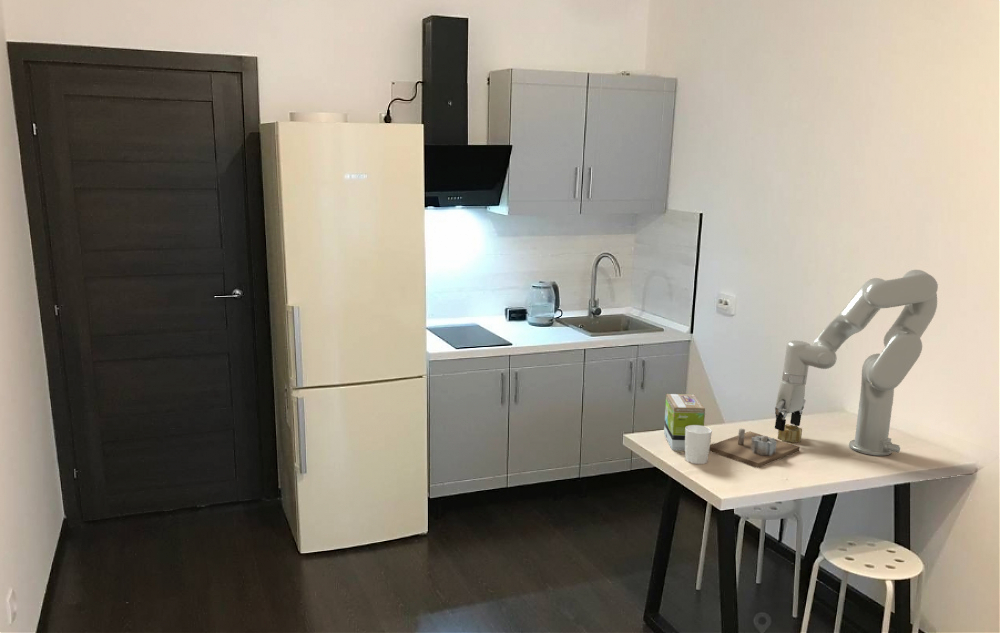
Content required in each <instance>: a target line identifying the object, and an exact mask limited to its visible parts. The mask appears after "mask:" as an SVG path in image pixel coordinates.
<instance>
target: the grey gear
mask: <svg viewBox="0 0 1000 633" xmlns="http://www.w3.org/2000/svg"><path fill="white" fill-rule="evenodd" d="M766 436H767V441H761V436H758V435H757V436H756V437H752V440H751V450H752V452H753V453H757V454H760V455H762V456H763V455H768V456H772V455H773V454H776V445H777V441H775V439H776V438H774V437H769V436H768V435H766Z"/></svg>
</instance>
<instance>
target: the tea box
mask: <svg viewBox="0 0 1000 633" xmlns="http://www.w3.org/2000/svg"><path fill="white" fill-rule="evenodd" d="M705 415H706V408H705V406H704V405H703V404H702V402H701V401H700V399H699V398H698V397H697V395H696V394H693V393H692V394H691V393H690V394H689V393H688V394H686V393H684V394H681V393H679V394H678V393H666V394H665V409H664V428H663V434H664V437H665V438H666V440H667V443H668V445H669V447H670V448H671V451H683V452H685V427H686V426H689V425H700V426H705Z"/></svg>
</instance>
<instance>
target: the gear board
mask: <svg viewBox="0 0 1000 633" xmlns="http://www.w3.org/2000/svg"><path fill="white" fill-rule="evenodd" d="M757 435H758V436H761V441H767V436H768V435H763V434H760V433H756V432H753V431H747V432H746V429H744V428H739V429H738V435H735V436H732V437H730V438H726V439H724V440H721V441H717V442H715V443H712V444H710V449H709V452H710V453H714V454H717V455H719V456H722V457H725V458H728V459H731V460H734V461H737V462H739V463H742V464H746V465H748V466H750V467H754V468H757V469H759V468H760V467H764V466H766V465H768V464H771V463H774V462H776V461H778V459H779V460H781V459H783V458H785V457H788V456H791V455H794V454H795V453H798V452H800V446H798V445H795V444H794V443H790V442H786V441H785V442H784V441H782V440H781V439H777V438H774V439H775V441H777V445H776V454H773V455H772V456H768V455H763V456H762V455H760V454H757V453H753V452H752V450H751V440H752V437H756V436H757Z"/></svg>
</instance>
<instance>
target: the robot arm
mask: <svg viewBox="0 0 1000 633" xmlns="http://www.w3.org/2000/svg"><path fill="white" fill-rule="evenodd" d="M938 286H939V284H938V282H937V279H936V278H935V277H934V276H932V275H931V274H929V273H928V272H926V271H924V270H921V269H911V270H909V271H908V272H906V273H905V274H904V275H903V276H902V277H899V278H893V279H882V278H881V277H880V278H878V277H874V278H873V277H872V278H870V279H869V280H867V281H865V282H864V284H863V285H862V286H861V287H860V289H858V291H857V292H856V293H855V294H854V296H853V297H852V298H851V299H850V301H849V302H848V303H847V304H846V305H845V306H844V307H843V309H842V310H841V311H840V313H838V314H837V315H836V316H835V318H834V319H833V320H832V321H831V322H830V323H829V324H828V325H827V326H826V327H825V328H824V329H823V330H822V331H821V333H820V334H819V335H818V336H817V338H816V339H815V340H814V341H813V343H812V344H810V343H809V342H806V341H803V340H790V341H789V342H787V344H786V351H785V356H784V357H785V358H784V364H783V371H782V376H781V378H782V379H781V382H780V386H779V389H778V393H777V397H776V402H775V407H774V410H775V424H774V429H775V430H781V431H784V430H785V425H786V424H787V423H786V422H787V419H786V417H787V415H788V414H790V415H791V416H790V425H793V426H794V425H796V426H797V427H800V426H801V420H802V415H803V409H804V408H805V404H806V402H807V401H806V399H805V395H806V385H807V380H808V372H809V367H814V368H817V369H821V370H828V369H831V368H833V367H834V366H835V365H836V364H837V363H836V362H837V354H836V353H837V351H838V350H839V349H840V347H841V346H842V345H843V344H844V343H845V342H846V341H847V340H848V339H849V338H850V337H852V336H853V335H855V334H858V333H860V332H861V331H863V330H864V329H865V328H866V327H867V326H868V325H869V323H870V322H871V321H872V319H873V318H874V317H875V316H876V315H877V314H878V312H880V311H881V309H889V308H896V307H900V306H901V307H902V306H904V307H903V308H902V311H901V312H900V314H899V316H897V318H896V320H895V321H894V323H893V324H892V325H891V327H890V328H889V330H888V331H886V333H885V335H884V337H883V345H884V346H883V347H884V348H883V350H882V351H881V352H880V353H874V354H871V355H869V356H867V358H866V359H865V360H864V361H863V364H862V367H861V368H862V369H861V383H860V384H861V386H860V392H859V393H860V395H859V403H858V411H857V419H856V426H855V427H856V428H855V435H854V436H855V437H854V439H852V440H849V442H848V447H849V448H851V449H852V450H853V451H855V452H857V453H860V454H865V455H869V456H870V455H871V456H877V457H880V456H882V457H884V456H889V455H891V454H892V452H894V453H899V454H900V452H901V447H900V445H899V444H895V443H893V442H892V438H891V437H889V435H890V434H889V432H890V426H891V418H892V410H893V404H894V395H895V394H894V393H895V389H896V388H897V387H898V386H899V385H900V384H901V383H902V382H903V381H904V379H905V378H906V377H907V375H908V374H909V372H910V370H911V369H912V368H913V367H914V364H916V362H917V361H918V360H919V358H920V355H921V353H922V351H923V342H922V339H921V338H922V335H923V334H925V332H926V331H927V329H928V326H930V323H932V320H933V319H934V316H935V315H936V312H937V308H938V293H937V292H938V289H939V287H938Z"/></svg>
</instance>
